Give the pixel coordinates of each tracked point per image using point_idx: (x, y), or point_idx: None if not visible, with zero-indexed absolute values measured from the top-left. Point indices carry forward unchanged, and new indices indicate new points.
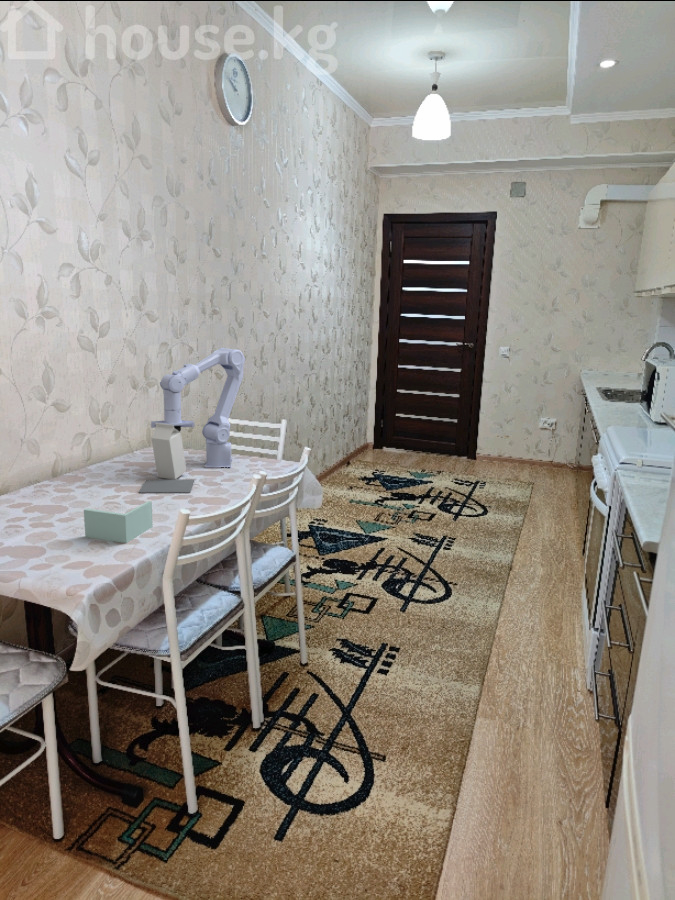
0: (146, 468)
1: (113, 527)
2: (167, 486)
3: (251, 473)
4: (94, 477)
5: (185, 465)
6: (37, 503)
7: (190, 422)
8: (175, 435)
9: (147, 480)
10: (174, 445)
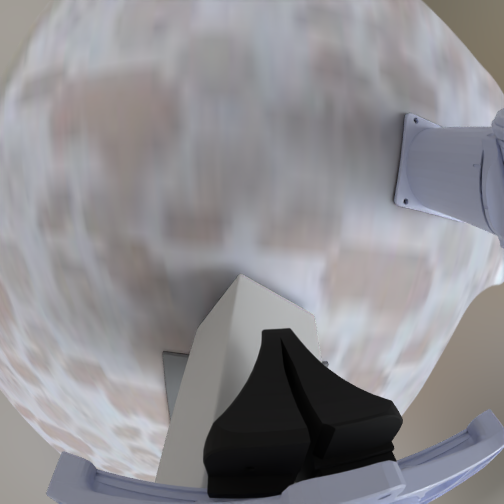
0: (130, 181)
1: None
2: None
3: (481, 287)
4: (18, 290)
5: (316, 336)
6: (36, 415)
7: (459, 482)
8: None
9: (169, 365)
10: None
